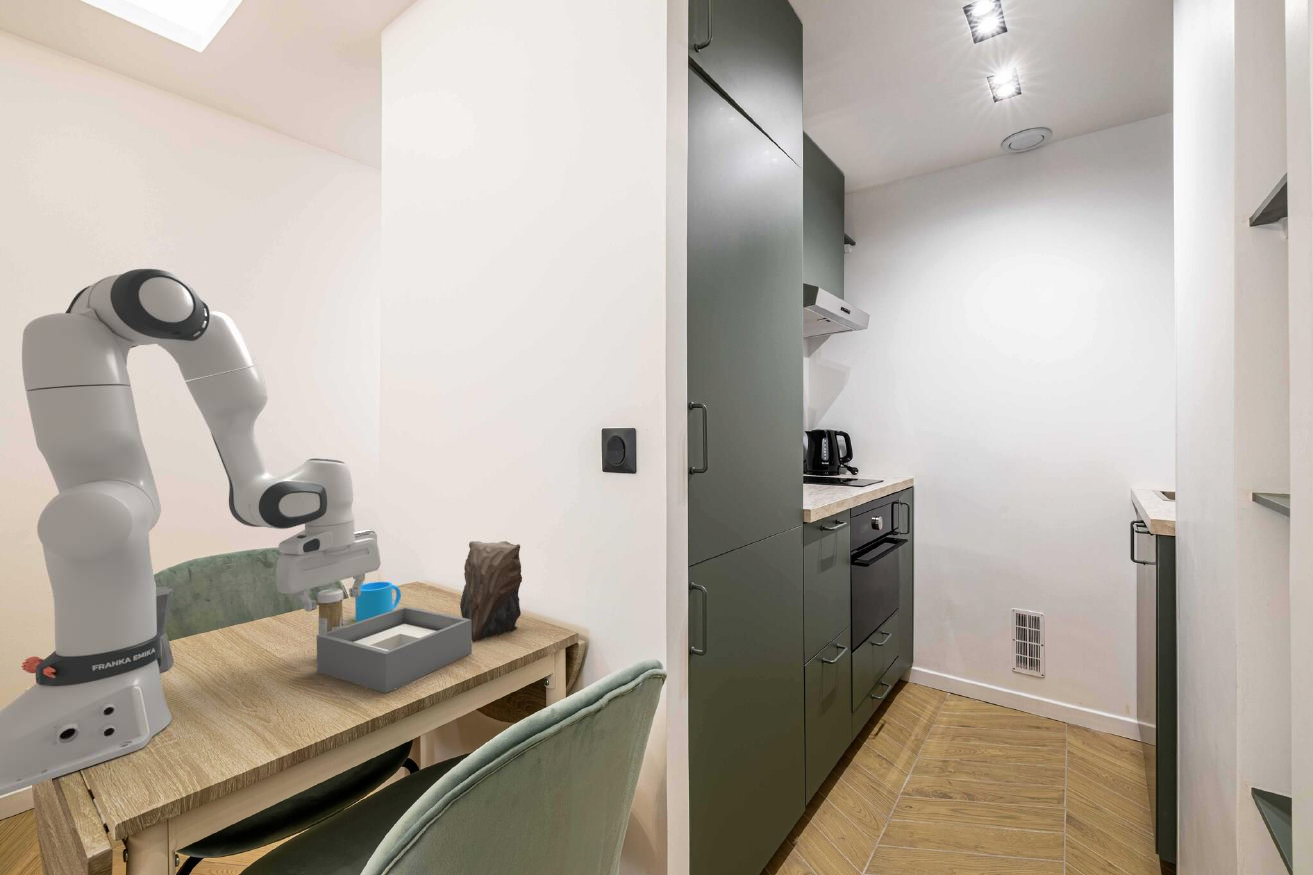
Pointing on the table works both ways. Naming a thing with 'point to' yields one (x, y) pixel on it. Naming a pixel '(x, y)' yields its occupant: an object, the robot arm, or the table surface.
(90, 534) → the robot arm
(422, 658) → the box
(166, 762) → the table surface
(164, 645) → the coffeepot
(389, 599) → the mug
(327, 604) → the sprinkles bottle
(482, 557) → the owl
